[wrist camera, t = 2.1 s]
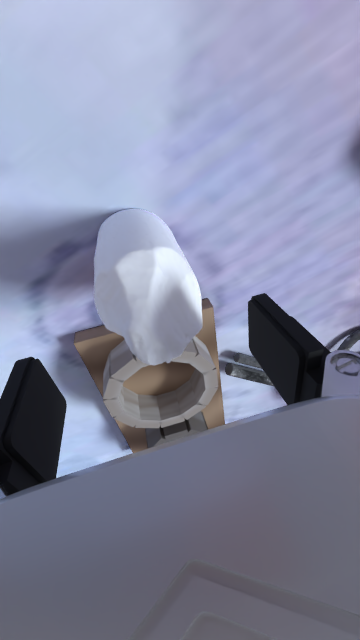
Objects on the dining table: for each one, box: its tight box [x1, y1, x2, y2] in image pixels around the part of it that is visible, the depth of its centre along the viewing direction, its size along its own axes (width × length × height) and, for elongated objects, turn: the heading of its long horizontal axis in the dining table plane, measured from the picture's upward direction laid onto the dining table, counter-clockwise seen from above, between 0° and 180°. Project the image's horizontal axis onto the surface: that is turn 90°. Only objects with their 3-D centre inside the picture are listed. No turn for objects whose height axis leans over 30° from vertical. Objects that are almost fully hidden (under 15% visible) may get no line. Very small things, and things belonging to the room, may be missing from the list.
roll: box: [94, 209, 203, 365], centre depth 15 cm, size 6×12×6 cm
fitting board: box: [74, 298, 225, 453], centre depth 28 cm, size 20×12×4 cm, turn 9°
